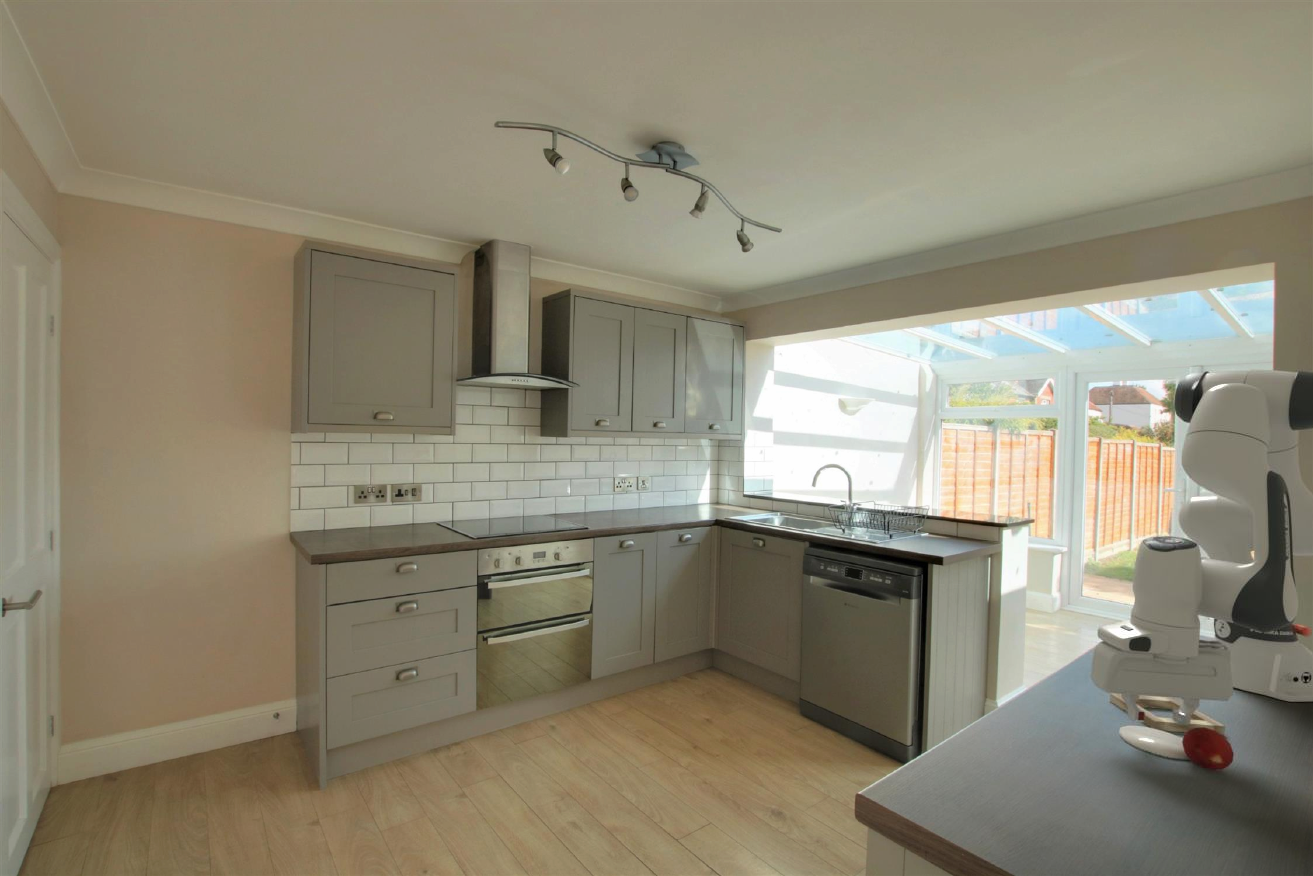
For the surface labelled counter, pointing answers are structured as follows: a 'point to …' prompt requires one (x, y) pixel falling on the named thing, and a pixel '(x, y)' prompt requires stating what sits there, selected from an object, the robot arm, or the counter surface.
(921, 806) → the counter surface
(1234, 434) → the robot arm
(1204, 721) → the frame
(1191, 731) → the onion
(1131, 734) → the white domed disc
